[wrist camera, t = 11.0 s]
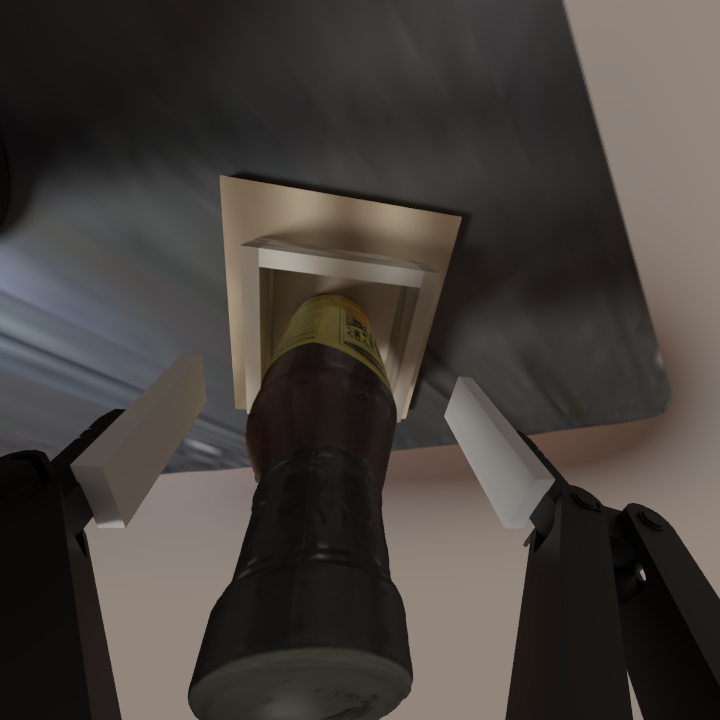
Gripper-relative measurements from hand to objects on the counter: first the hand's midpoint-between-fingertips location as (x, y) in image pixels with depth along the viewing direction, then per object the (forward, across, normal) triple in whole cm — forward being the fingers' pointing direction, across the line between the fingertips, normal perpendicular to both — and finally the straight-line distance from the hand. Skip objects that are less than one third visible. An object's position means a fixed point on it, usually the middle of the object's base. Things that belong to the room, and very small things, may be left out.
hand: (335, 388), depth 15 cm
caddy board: (+10, 0, 0) cm, 10 cm away
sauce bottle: (+9, 0, 0) cm, 9 cm away
